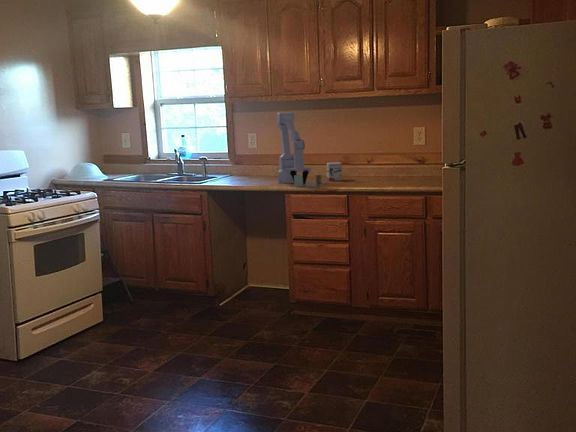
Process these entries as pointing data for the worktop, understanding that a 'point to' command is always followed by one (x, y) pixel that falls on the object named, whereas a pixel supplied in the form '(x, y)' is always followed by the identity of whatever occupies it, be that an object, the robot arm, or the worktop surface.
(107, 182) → the worktop surface
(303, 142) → the robot arm
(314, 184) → the board
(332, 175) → the ink box
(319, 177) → the post
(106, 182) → the worktop surface
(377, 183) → the worktop surface
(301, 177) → the pale green cube
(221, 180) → the worktop surface
